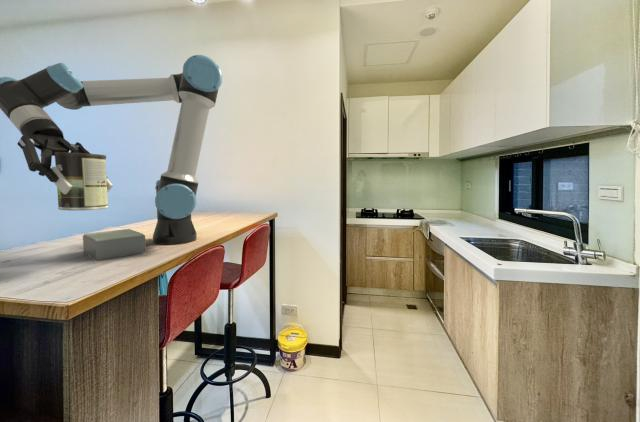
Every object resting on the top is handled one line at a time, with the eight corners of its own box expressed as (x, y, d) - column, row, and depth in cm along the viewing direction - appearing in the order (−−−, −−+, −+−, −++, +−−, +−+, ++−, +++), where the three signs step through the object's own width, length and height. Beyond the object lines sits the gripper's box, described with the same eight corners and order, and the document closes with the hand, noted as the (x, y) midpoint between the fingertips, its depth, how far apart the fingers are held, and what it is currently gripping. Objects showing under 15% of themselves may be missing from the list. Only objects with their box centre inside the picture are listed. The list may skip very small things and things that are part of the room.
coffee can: (57, 211, 68) (52, 151, 66) (59, 207, 76) (55, 153, 74) (110, 209, 74) (107, 154, 73) (107, 205, 82) (104, 156, 81)
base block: (130, 245, 101) (129, 228, 100) (145, 252, 93) (144, 233, 92) (83, 252, 91) (82, 233, 90) (96, 260, 83) (95, 240, 82)
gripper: (75, 143, 87) (121, 196, 86) (-28, 131, 65) (31, 202, 64) (88, 125, 86) (135, 179, 84) (-14, 106, 64) (47, 179, 62)
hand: (90, 189), depth 74 cm, fingers closed on coffee can, 10 cm apart
